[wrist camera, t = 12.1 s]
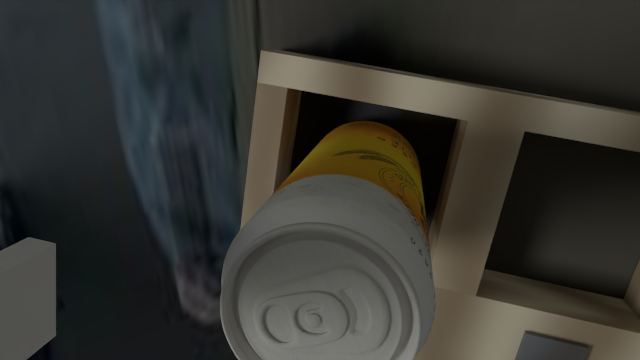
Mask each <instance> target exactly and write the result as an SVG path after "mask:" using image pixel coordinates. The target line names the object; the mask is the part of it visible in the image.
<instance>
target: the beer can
mask: <svg viewBox="0 0 640 360" xmlns="http://www.w3.org/2000/svg"><path fill="white" fill-rule="evenodd" d="M221 286H222V291H221V298H220V315H221V321H222V326H223V330H224V333H225V336H226V338H227V341H228V343H229V345H230V347H231V349H232V350H233V352H234V354H235V355H236V357H237V358H238V360H414V358H415V357H416V356H417V354H418V353H419V352H420V350H421V349H422V348H423V346H424V344H425V342H426V340H427V338H428V336H429V333H430V331H431V328H432V325H433V320H434V316H435V305H436V303H435V288H434V280H433V272H432V263H431V255H430V247H429V238H428V230H427V222H426V213H425V205H424V197H423V188H422V180H421V172H420V165H419V161H418V158H417V156H416V153H415V151H414V149H413V148H412V146H411V145H410V143H409V142H408V141H407V140H406V139H405V138H404V137H403V136H402V135H401V134H400V133H398V132H397V131H396V130H394V129H392V128H391V127H388V126H386V125H384V124H381V123H377V122H372V121H356V122H351V123H347V124H344V125H341V126H339V127H337V128H335V129H334V130H332V131H331V132H329V133H328V134H327V135H326V136H325V137H324V138H323V139H322V140H321V141H320V142H319V143H318V145H317V146H316V147H315V148H314V149H313V150H312V151H311V152H310V153H309V155H308V156H307V157H306V158H305V159H304V160H303V161H302V162H301V163H300V165H299V166H298V167H297V168H296V169H295V170H294V171H293V172H292V173H291V175H290V176H289V177H288V178H287V179H286V180H285V181H284V182H283V183H282V185H281V186H280V187H279V188H278V189H277V190H276V191H275V192H274V193H273V195H272V196H271V197H270V198H269V199H268V200H267V201H266V202H265V203H264V204H263V206H262V207H261V208H260V209H259V210H258V211H257V212H256V213H255V214H254V216H253V217H252V218H251V219H250V220H249V221H248V222H247V223H246V224H245V226H244V227H243V228H242V229H241V230H240V231H239V233H238V234H237V235H236V237H235V238H234V240H233V241H232V244H231V246H230V248H229V250H228V252H227V255H226V258H225V261H224V265H223V270H222V281H221Z"/></svg>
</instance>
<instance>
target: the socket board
mask: <svg viewBox="0 0 640 360" xmlns="http://www.w3.org/2000/svg"><path fill="white" fill-rule="evenodd" d="M302 91H308V92H313V93H318V94H324V95H329V96H335V97H340V98H346V99H351V100H357V101H362V102H368V103H373V104H379V105H384V106H390V107H395V108H401V109H406V110H412V111H417V112H423V113H428V114H433V115H439V116H444V117H450V118H455V119H457V123H456V127H455V131H454V135H453V139H452V143H451V147H450V151H449V155H448V159H447V163H446V167H445V171H444V175H443V179H442V183H441V187H440V191H439V195H438V199H437V203H436V207H435V211H434V215H433V219H432V223H431V227H430V231H429V235H428V238H429V247H430V255H431V263H432V272H433V280H434V288H435V303H436V305H435V316H434V320H433V325H432V328H431V331H430V333H429V336H428V338H427V340H426V342H425V344H424V346H423V348H422V349H421V350H420V352H419V353H418V354H417V356H416V357H415V358H414V360H640V260H639V262H638V264H637V267H636V269H635V272H634V274H633V277H632V279H631V282H630V284H629V287H628V289H627V291H626V294H625V296H624V299H619V298H614V297H610V296H605V295H601V294H596V293H592V292H587V291H583V290H578V289H573V288H569V287H564V286H560V285H555V284H551V283H546V282H542V281H537V280H533V279H528V278H524V277H519V276H515V275H510V274H505V273H501V272H496V271H492V270H487V269H484V267H485V263H486V260H487V257H488V253H489V250H490V247H491V243H492V240H493V236H494V233H495V230H496V226H497V223H498V220H499V216H500V213H501V209H502V206H503V203H504V199H505V196H506V193H507V189H508V186H509V182H510V179H511V176H512V172H513V169H514V166H515V162H516V159H517V155H518V152H519V149H520V145H521V142H522V139H523V135H524V132H525V131H527V132H532V133H538V134H543V135H548V136H554V137H559V138H565V139H570V140H576V141H581V142H587V143H592V144H598V145H603V146H609V147H614V148H620V149H625V150H631V151H636V152H640V112H637V111H631V110H625V109H620V108H614V107H608V106H602V105H596V104H591V103H585V102H579V101H573V100H567V99H562V98H556V97H550V96H544V95H538V94H533V93H527V92H521V91H515V90H509V89H504V88H498V87H492V86H486V85H480V84H475V83H469V82H463V81H457V80H451V79H446V78H440V77H434V76H428V75H423V74H417V73H411V72H405V71H399V70H394V69H388V68H382V67H376V66H370V65H365V64H359V63H353V62H347V61H341V60H336V59H330V58H324V57H318V56H312V55H307V54H301V53H295V52H289V51H283V50H261V56H260V64H259V73H258V82H257V90H256V99H255V108H254V116H253V125H252V134H251V142H250V151H249V160H248V168H247V177H246V186H245V194H244V203H243V212H242V220H241V229H242V228H243V227H244V226H245V224H246V223H247V222H248V221H249V220H250V219H251V218H252V217H253V216H254V214H255V213H256V212H257V211H258V210H259V209H260V208H261V207H262V206H263V204H264V203H265V202H266V201H267V200H268V199H269V198H270V197H271V196H272V195H273V193H274V192H275V191H276V190H277V189H278V188H279V187H280V186H281V185H282V183H283V182H284V181H285V180H286V179H287V178H288V177H289V176H290V169H291V162H292V155H293V148H294V141H295V135H296V128H297V121H298V114H299V107H300V100H301V93H302ZM241 229H240V230H241Z"/></svg>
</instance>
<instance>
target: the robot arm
mask: <svg viewBox="0 0 640 360" xmlns="http://www.w3.org/2000/svg"><path fill="white" fill-rule="evenodd" d="M55 336H56V243H51V242H47V241H43V240H39V239H34V238H30V237H28V238H26V239H24V240H22V241H20V242H18V243H16V244H14V245H12V246H10V247H8V248H6V249H4V250H2V251H0V360H26V359H28V358H29V357H30V356H31V355H33V354H34V353H35V352H36V351H37V350H39V349H40V348H41V347H42V346H44V345H45V344H46V343H47V342H48V341H50V340H51V339H52V338H53V337H55Z"/></svg>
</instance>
